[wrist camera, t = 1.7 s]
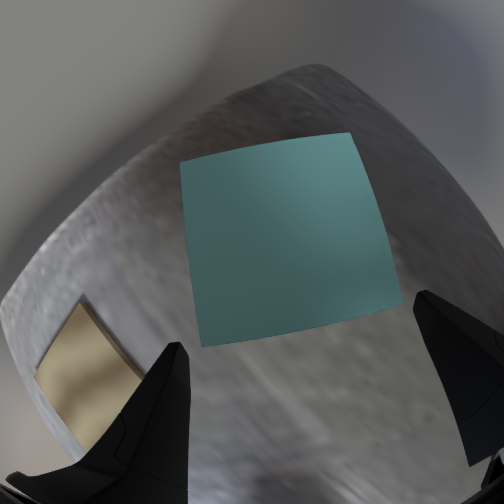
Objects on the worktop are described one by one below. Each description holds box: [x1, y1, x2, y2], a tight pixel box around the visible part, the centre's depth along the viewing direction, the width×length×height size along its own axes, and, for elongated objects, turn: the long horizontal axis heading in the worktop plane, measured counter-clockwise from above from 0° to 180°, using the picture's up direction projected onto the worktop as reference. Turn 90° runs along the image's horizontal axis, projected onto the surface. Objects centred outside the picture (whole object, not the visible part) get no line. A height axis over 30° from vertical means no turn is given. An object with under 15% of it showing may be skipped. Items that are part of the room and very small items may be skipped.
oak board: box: [34, 302, 145, 451], centre depth 21 cm, size 13×13×1 cm
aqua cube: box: [180, 133, 403, 347], centre depth 13 cm, size 7×7×6 cm
